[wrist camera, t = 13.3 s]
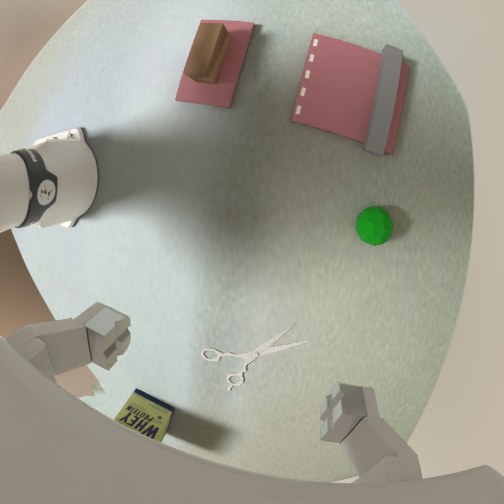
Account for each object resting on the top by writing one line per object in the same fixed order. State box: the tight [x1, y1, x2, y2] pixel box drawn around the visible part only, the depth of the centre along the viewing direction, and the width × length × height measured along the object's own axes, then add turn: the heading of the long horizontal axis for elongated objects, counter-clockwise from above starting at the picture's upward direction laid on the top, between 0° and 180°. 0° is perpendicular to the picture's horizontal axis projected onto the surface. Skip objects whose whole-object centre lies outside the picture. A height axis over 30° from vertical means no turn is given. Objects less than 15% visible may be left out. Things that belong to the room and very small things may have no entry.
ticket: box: [291, 33, 409, 156], centre depth 28 cm, size 14×16×3 cm
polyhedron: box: [356, 206, 393, 246], centre depth 32 cm, size 5×5×5 cm
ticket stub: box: [175, 20, 255, 108], centre depth 28 cm, size 8×14×6 cm, turn 166°
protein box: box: [114, 389, 174, 442], centre depth 49 cm, size 10×16×16 cm
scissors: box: [201, 325, 309, 391], centre depth 45 cm, size 11×1×20 cm
